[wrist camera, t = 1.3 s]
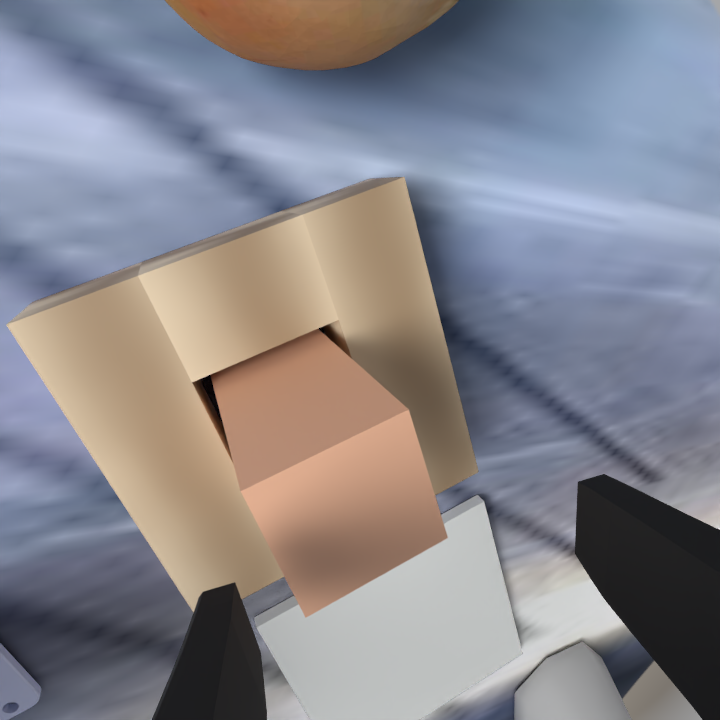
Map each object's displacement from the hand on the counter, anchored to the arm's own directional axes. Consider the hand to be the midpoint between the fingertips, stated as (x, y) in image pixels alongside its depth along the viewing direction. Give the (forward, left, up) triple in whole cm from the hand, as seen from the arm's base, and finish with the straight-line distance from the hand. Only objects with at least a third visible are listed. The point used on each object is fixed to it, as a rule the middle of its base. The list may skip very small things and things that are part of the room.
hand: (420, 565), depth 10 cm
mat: (0, -16, -11) cm, 19 cm away
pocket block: (-1, 0, -11) cm, 11 cm away
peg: (-1, 0, -11) cm, 11 cm away
